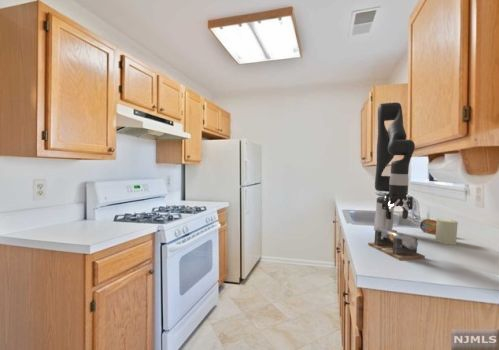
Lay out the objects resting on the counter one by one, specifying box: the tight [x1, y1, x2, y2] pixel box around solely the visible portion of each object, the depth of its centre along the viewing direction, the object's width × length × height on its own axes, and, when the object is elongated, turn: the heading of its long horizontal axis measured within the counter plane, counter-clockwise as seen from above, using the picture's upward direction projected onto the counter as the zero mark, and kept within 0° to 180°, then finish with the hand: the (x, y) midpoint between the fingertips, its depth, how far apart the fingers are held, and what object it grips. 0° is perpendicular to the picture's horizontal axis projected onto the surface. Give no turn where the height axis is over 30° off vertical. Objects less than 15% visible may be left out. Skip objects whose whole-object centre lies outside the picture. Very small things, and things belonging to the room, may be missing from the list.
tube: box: [377, 227, 419, 250], centre depth 122 cm, size 20×5×5 cm, turn 12°
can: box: [434, 218, 459, 245], centre depth 140 cm, size 9×9×12 cm
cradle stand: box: [367, 229, 426, 261], centre depth 122 cm, size 20×13×8 cm, turn 12°
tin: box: [419, 218, 437, 236], centre depth 155 cm, size 15×3×8 cm, turn 33°
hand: (396, 219), depth 122 cm, fingers open, 8 cm apart
